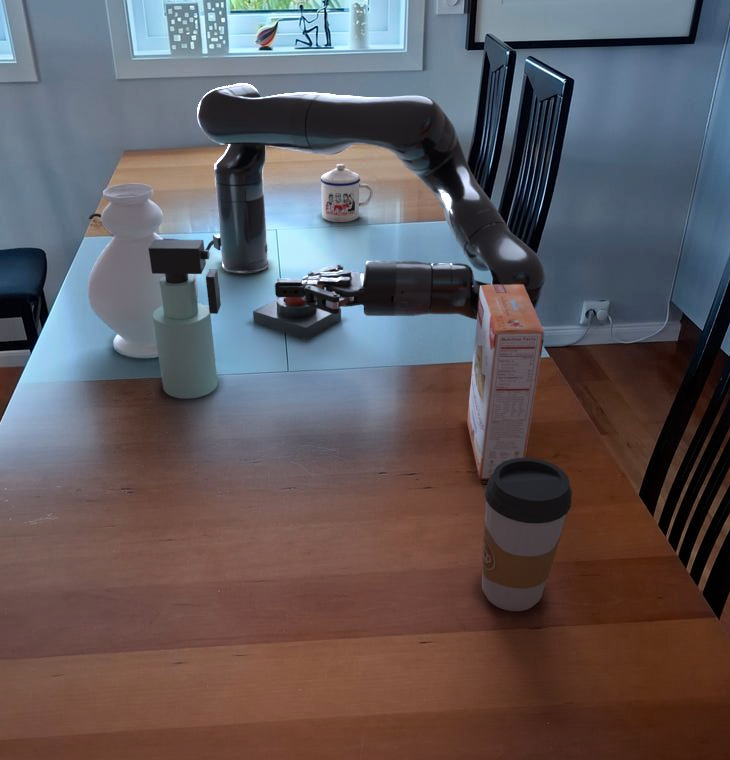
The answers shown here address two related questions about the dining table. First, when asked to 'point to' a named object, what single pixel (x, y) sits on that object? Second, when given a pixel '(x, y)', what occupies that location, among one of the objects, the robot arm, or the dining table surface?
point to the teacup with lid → (342, 195)
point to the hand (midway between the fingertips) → (275, 287)
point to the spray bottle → (183, 320)
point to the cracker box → (503, 375)
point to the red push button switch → (294, 318)
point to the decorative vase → (128, 270)
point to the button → (294, 300)
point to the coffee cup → (522, 530)
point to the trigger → (213, 291)
